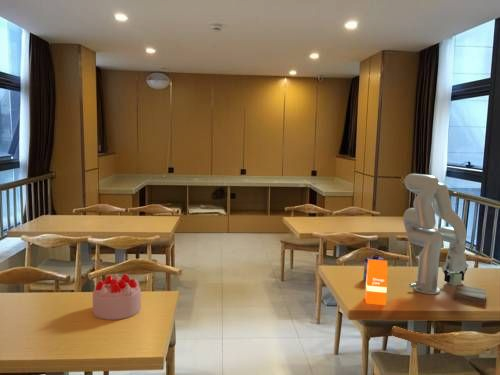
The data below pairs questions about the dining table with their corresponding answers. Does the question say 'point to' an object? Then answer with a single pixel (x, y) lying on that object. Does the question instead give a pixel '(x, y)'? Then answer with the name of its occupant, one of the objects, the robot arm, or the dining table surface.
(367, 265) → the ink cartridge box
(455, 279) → the sage block
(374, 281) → the orange juice
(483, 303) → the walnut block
